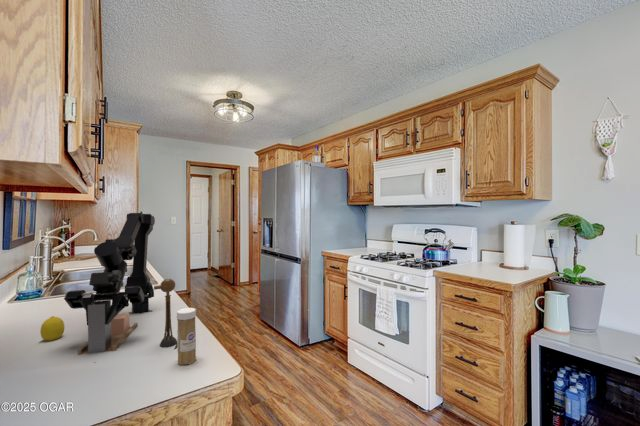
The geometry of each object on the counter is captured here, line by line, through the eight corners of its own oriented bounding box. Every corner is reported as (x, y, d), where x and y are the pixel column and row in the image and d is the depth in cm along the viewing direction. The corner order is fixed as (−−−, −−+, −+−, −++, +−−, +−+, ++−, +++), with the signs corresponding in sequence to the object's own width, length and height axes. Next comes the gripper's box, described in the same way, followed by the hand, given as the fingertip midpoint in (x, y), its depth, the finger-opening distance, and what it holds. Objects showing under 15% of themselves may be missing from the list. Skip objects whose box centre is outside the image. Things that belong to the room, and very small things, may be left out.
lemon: (37, 344, 92) (36, 317, 92) (59, 337, 97) (59, 312, 97) (45, 347, 89) (45, 320, 89) (68, 340, 94) (67, 314, 94)
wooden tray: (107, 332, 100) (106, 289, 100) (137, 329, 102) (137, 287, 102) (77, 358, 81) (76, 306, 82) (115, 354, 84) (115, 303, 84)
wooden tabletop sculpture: (156, 354, 84) (155, 281, 84) (153, 348, 87) (152, 279, 87) (179, 348, 87) (178, 278, 87) (176, 343, 91) (175, 276, 91)
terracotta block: (112, 330, 99) (112, 314, 99) (129, 328, 100) (129, 313, 100) (105, 336, 94) (105, 319, 94) (124, 334, 95) (123, 318, 95)
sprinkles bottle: (187, 366, 76) (186, 313, 77) (173, 363, 78) (172, 311, 78) (200, 358, 81) (199, 308, 81) (187, 356, 82) (186, 306, 82)
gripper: (67, 262, 86) (43, 313, 75) (140, 259, 91) (128, 306, 80) (81, 284, 94) (61, 333, 83) (148, 280, 98) (138, 326, 88)
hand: (97, 324), depth 83 cm, fingers closed on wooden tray, 4 cm apart
